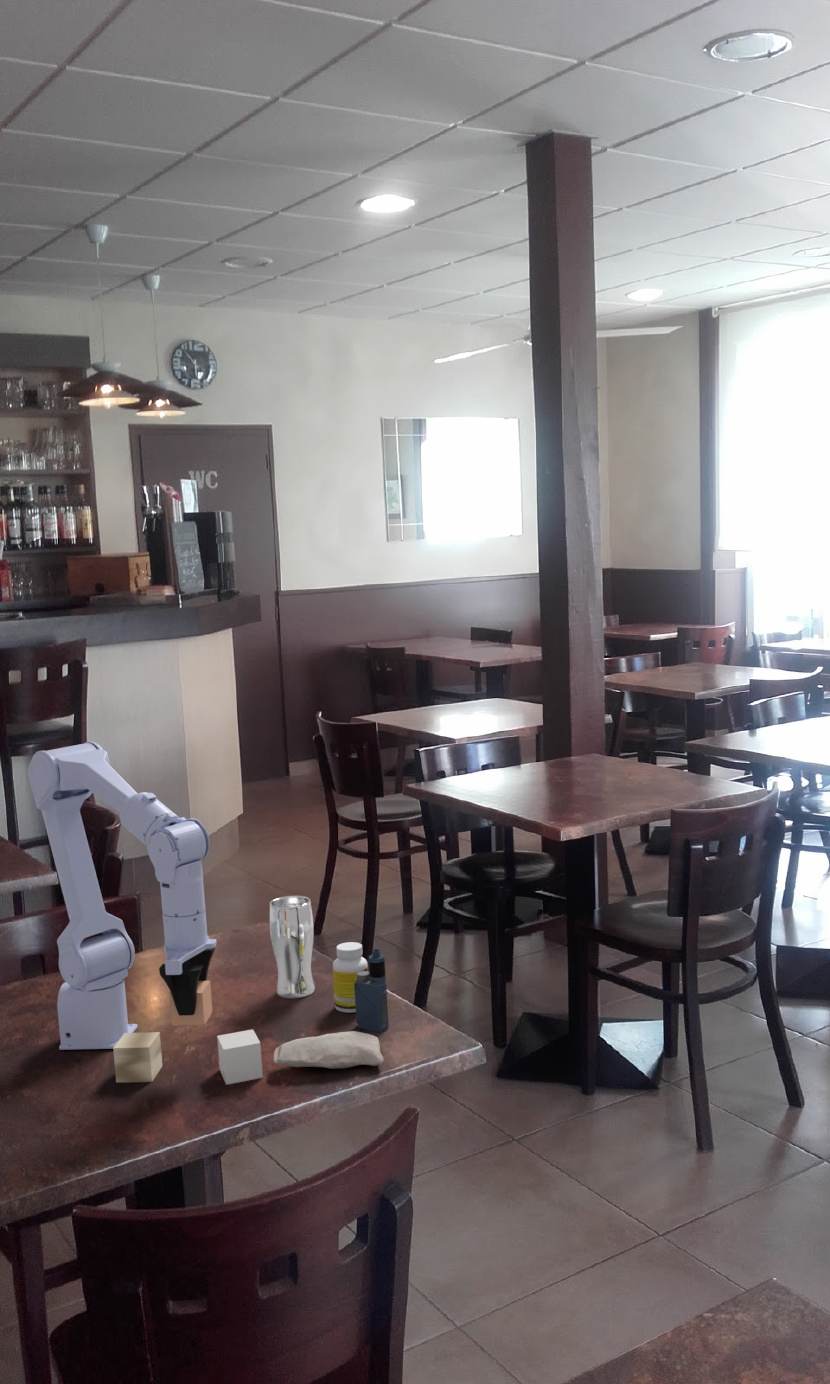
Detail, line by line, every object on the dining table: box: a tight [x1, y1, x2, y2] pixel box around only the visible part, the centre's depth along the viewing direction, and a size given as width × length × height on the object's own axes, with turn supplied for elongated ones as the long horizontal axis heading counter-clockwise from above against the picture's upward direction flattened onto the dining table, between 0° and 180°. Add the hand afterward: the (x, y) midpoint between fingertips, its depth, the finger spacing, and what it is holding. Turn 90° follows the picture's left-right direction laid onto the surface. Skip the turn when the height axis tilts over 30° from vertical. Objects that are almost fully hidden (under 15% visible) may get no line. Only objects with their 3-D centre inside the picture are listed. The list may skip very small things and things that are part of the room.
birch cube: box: [113, 1031, 163, 1083], centre depth 163 cm, size 5×5×5 cm
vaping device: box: [354, 948, 389, 1033], centre depth 174 cm, size 3×5×12 cm, turn 58°
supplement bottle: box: [332, 941, 369, 1014], centre depth 183 cm, size 5×5×10 cm
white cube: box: [216, 1028, 264, 1085], centre depth 162 cm, size 5×5×5 cm
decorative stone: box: [273, 1030, 385, 1070], centre depth 164 cm, size 10×4×15 cm
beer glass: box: [269, 895, 316, 999], centre depth 190 cm, size 7×7×15 cm
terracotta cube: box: [169, 980, 213, 1027], centre depth 162 cm, size 4×4×4 cm
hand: (191, 1007), depth 162 cm, fingers closed on terracotta cube, 4 cm apart
